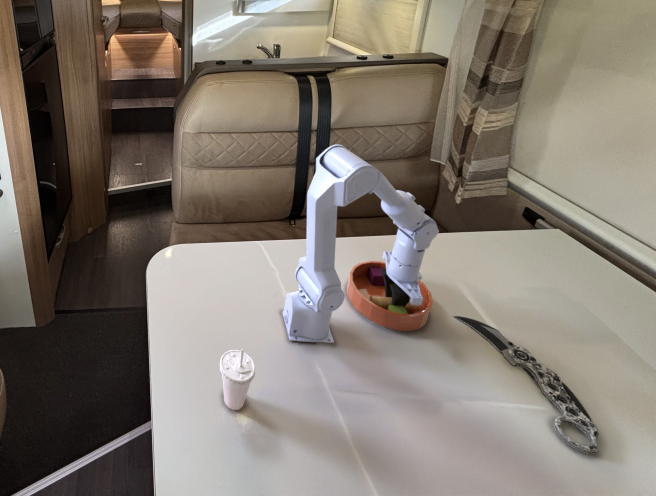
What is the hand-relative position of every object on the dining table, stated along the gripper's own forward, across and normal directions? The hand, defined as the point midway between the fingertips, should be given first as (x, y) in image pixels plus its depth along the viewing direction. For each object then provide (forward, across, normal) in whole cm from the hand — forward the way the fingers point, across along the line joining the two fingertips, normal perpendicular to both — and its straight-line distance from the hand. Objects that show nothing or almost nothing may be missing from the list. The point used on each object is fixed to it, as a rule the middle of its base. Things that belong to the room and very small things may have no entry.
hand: (393, 303), depth 99 cm
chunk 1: (+2, +9, 0) cm, 9 cm away
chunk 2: (+2, -3, +1) cm, 4 cm away
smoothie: (+2, -24, +39) cm, 46 cm away
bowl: (+2, +3, 0) cm, 4 cm away
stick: (+2, 0, 0) cm, 2 cm away
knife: (+3, -14, -20) cm, 24 cm away
